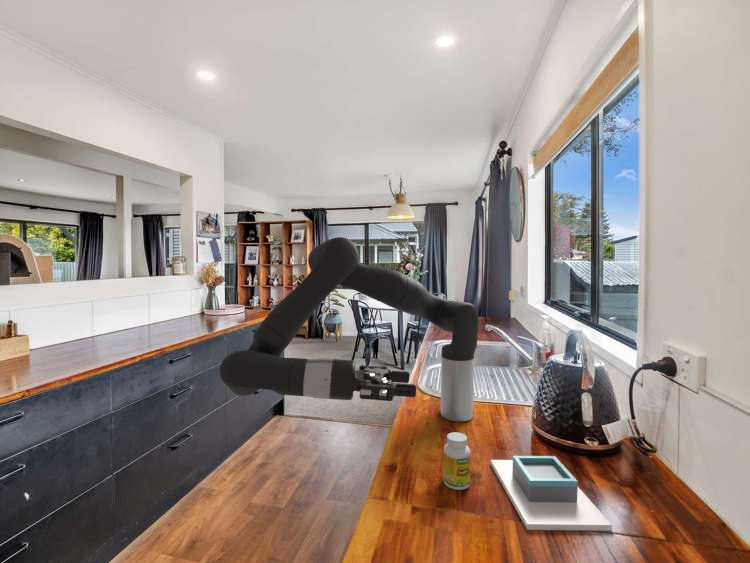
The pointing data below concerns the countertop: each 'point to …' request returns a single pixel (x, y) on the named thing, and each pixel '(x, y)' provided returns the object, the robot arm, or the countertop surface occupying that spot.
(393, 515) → the countertop surface
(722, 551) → the countertop surface
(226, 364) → the robot arm
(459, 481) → the supplement bottle
